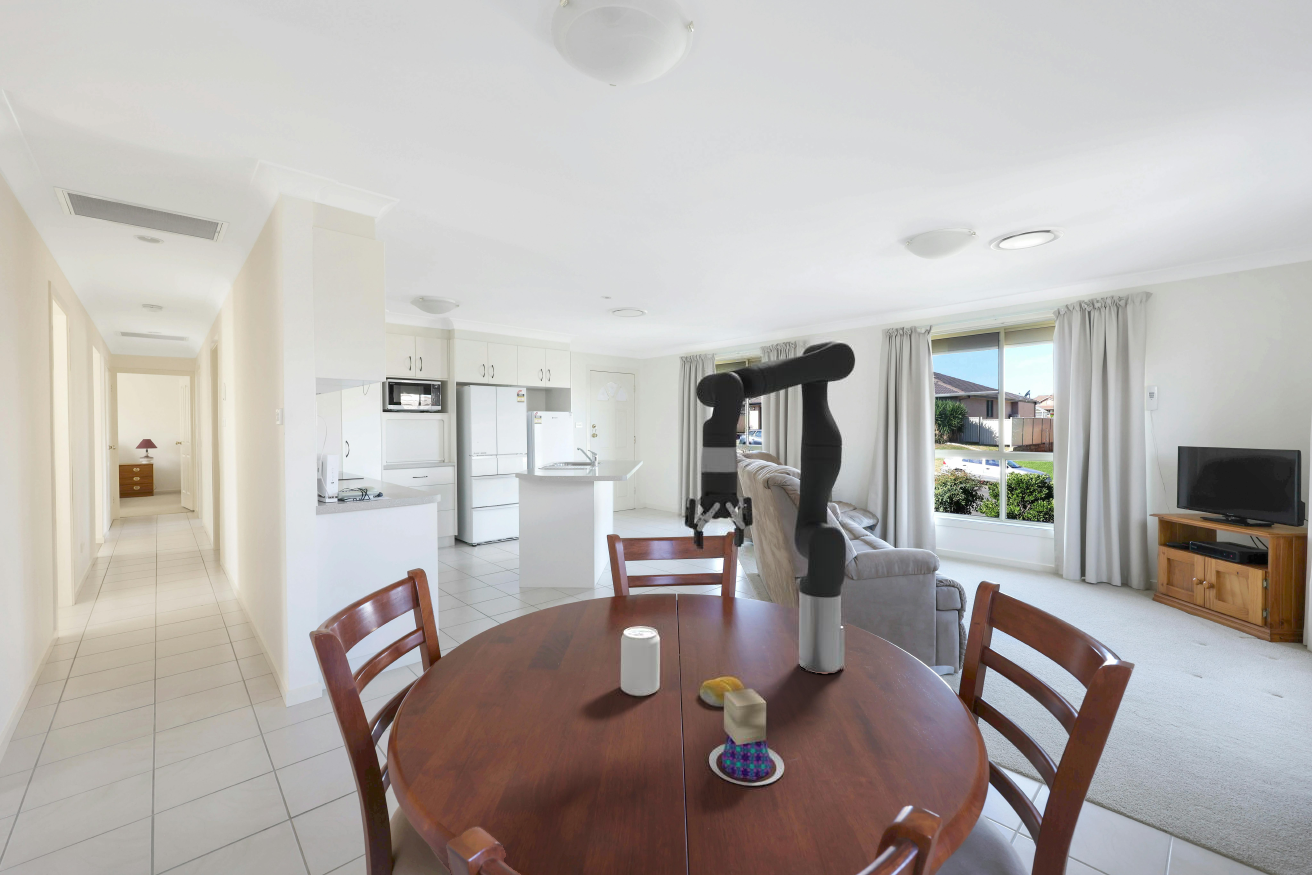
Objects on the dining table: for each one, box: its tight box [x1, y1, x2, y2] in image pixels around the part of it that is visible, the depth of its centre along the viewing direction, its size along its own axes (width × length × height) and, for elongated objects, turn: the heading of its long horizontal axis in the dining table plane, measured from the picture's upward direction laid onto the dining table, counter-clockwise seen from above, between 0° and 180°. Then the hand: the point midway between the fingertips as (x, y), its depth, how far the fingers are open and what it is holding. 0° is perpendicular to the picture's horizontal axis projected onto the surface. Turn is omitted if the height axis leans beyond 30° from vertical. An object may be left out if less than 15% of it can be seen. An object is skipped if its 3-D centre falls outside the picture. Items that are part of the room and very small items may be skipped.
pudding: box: [708, 733, 785, 786], centre depth 89 cm, size 12×12×5 cm
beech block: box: [723, 688, 767, 745], centre depth 89 cm, size 5×5×6 cm
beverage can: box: [620, 625, 661, 697], centre depth 116 cm, size 8×8×12 cm
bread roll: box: [699, 676, 745, 708], centre depth 113 cm, size 8×9×4 cm
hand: (718, 547), depth 114 cm, fingers open, 8 cm apart
